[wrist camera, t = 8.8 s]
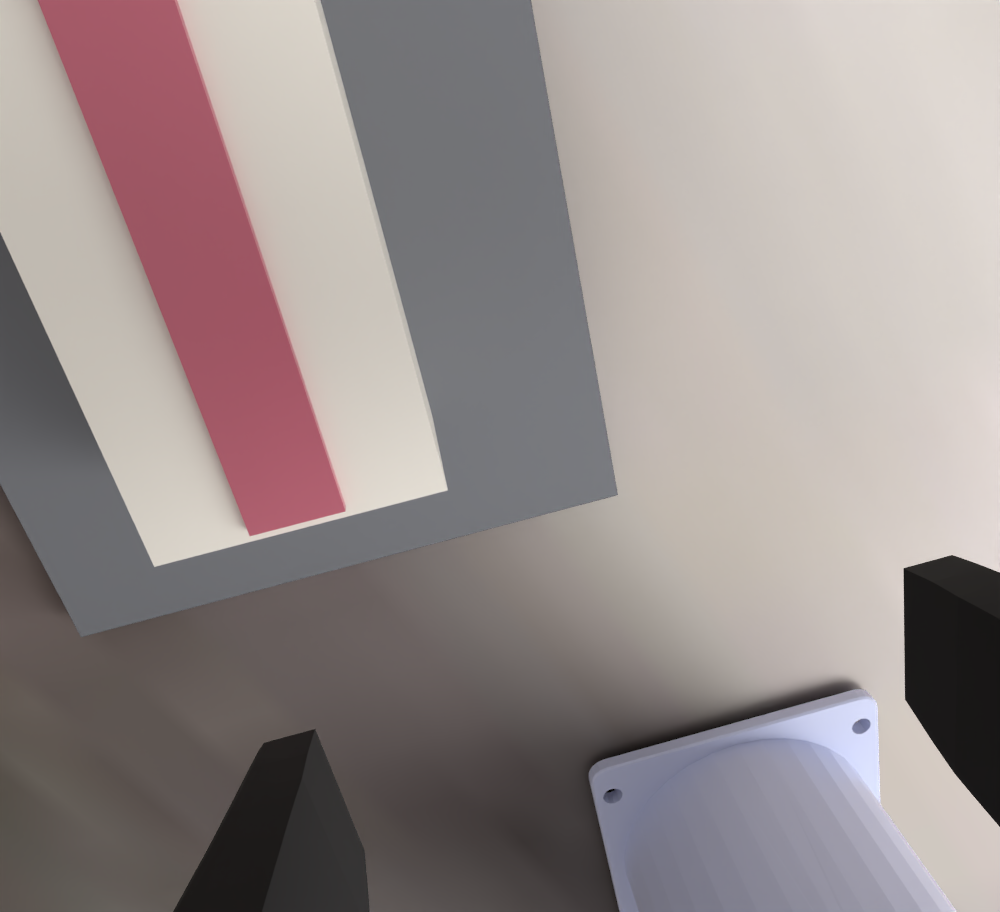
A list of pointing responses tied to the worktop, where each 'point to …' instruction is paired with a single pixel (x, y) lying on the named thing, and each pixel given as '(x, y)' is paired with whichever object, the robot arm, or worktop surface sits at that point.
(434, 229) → the mat
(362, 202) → the card deck
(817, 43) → the worktop surface
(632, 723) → the worktop surface
